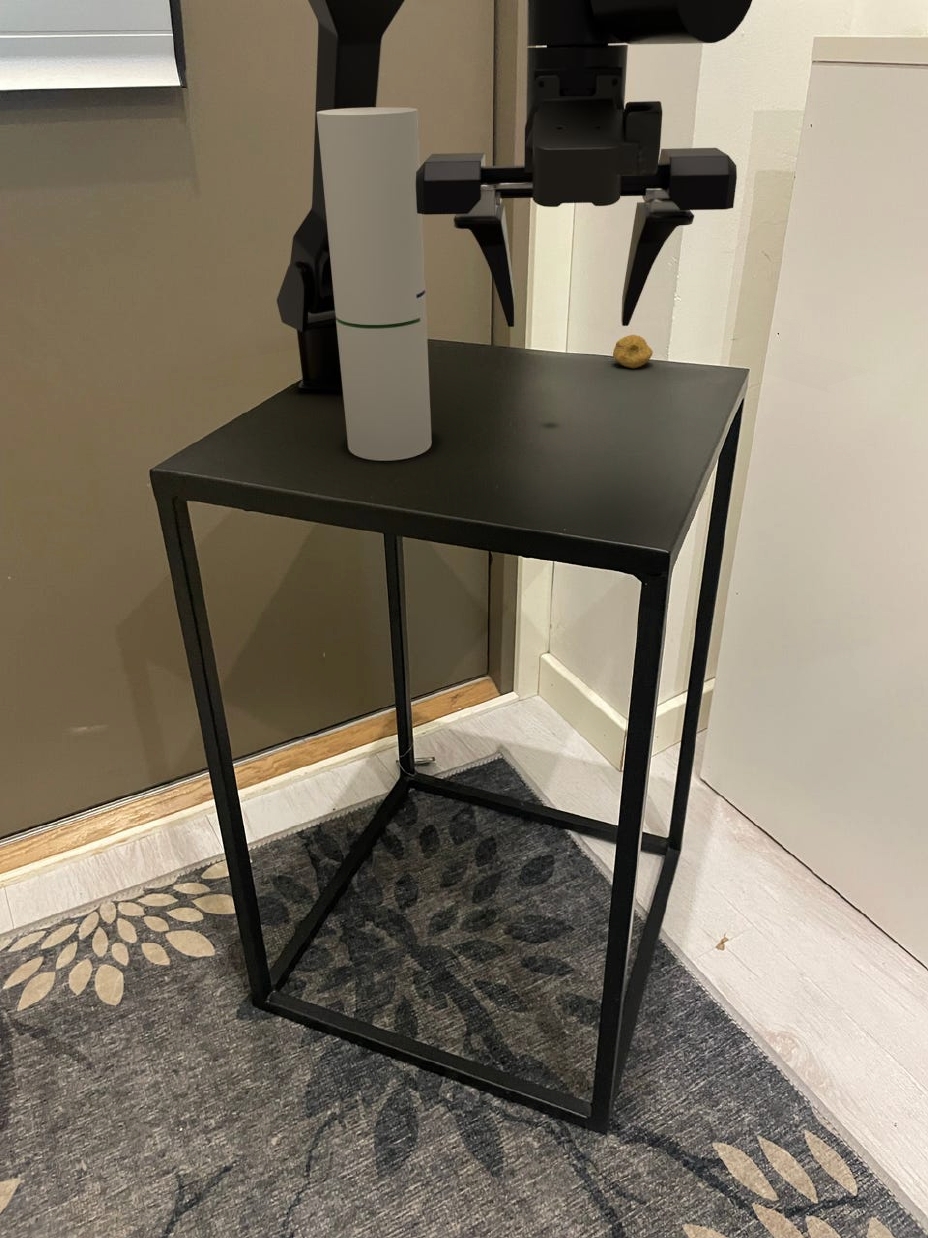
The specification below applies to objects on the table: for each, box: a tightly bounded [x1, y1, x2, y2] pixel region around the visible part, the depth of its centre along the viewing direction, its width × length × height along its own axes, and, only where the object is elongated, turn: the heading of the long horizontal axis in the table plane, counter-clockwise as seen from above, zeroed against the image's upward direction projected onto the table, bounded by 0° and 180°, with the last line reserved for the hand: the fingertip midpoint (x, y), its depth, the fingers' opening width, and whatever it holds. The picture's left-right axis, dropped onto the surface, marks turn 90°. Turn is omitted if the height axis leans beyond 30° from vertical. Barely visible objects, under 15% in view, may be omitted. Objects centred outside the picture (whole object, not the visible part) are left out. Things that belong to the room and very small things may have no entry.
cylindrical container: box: [317, 106, 433, 462], centre depth 72 cm, size 7×7×25 cm
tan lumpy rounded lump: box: [612, 334, 654, 369], centre depth 95 cm, size 4×4×3 cm
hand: (567, 324), depth 61 cm, fingers open, 7 cm apart
